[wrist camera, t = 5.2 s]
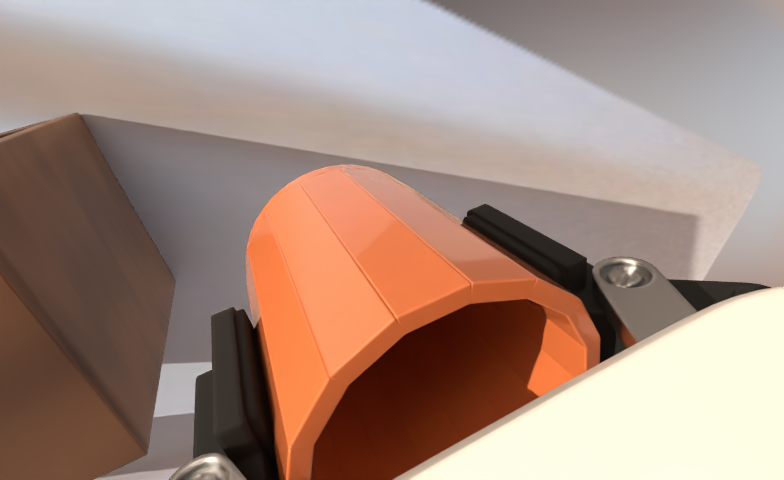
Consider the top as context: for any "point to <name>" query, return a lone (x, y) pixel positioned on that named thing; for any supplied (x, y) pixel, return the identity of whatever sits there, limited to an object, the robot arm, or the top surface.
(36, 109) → the top surface
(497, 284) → the tumbler
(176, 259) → the top surface
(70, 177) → the brown wooden organizer box
